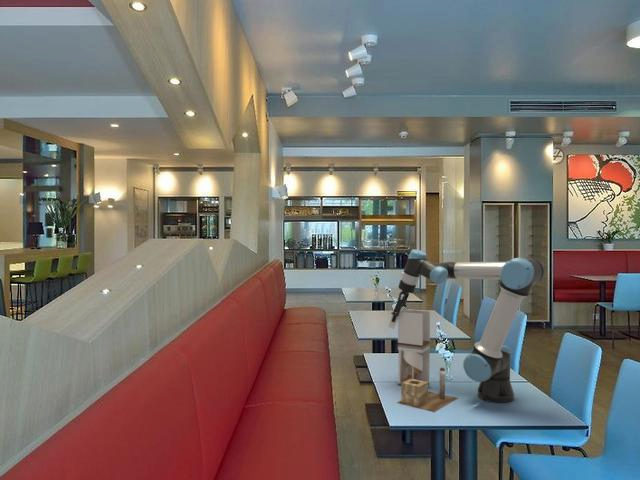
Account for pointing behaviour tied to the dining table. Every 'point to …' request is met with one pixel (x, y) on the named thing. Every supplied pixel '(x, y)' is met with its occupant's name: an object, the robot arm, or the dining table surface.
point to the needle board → (435, 397)
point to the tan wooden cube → (414, 392)
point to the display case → (414, 345)
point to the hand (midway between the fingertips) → (394, 323)
